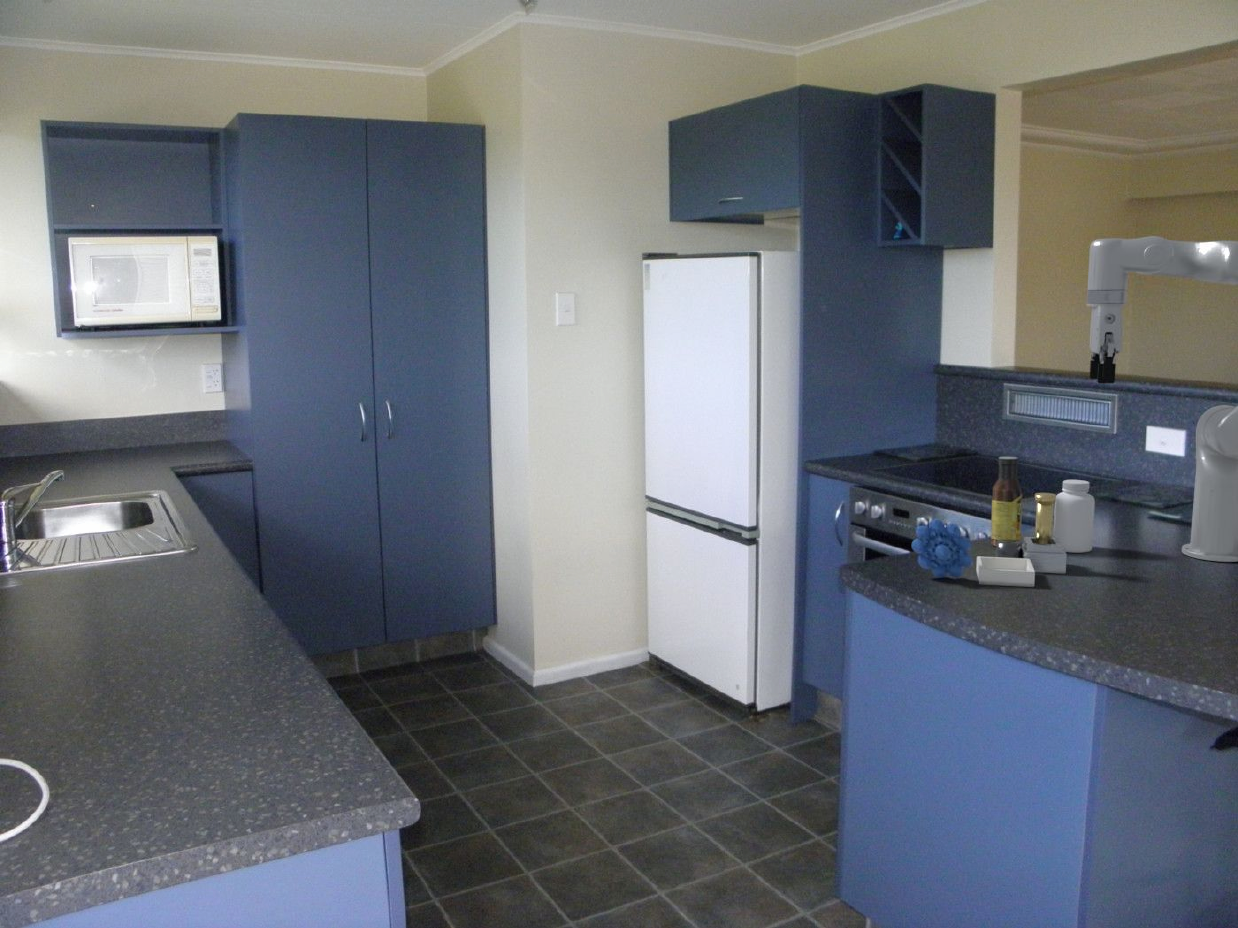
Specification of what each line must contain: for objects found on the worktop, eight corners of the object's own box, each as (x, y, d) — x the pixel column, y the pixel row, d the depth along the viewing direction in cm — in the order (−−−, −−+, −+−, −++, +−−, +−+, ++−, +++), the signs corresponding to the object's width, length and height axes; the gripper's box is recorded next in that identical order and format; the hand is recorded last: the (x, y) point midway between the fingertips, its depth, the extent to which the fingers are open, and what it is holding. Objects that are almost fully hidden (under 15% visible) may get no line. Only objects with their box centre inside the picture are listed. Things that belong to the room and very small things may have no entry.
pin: (1052, 546, 216) (1054, 493, 215) (1054, 551, 213) (1057, 496, 211) (1031, 545, 218) (1033, 492, 216) (1033, 550, 214) (1035, 496, 212)
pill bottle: (1090, 545, 232) (1094, 478, 230) (1093, 554, 225) (1097, 485, 222) (1051, 543, 235) (1054, 477, 232) (1053, 552, 227) (1057, 484, 225)
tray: (1028, 573, 212) (1029, 558, 211) (1034, 587, 202) (1034, 571, 202) (976, 570, 214) (976, 556, 214) (979, 584, 205) (979, 569, 204)
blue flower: (911, 582, 207) (913, 523, 205) (910, 573, 213) (911, 515, 211) (973, 585, 204) (976, 525, 202) (970, 576, 211) (972, 517, 209)
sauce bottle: (1022, 550, 230) (1026, 460, 226) (992, 549, 231) (996, 460, 228) (1017, 542, 236) (1021, 455, 233) (988, 542, 237) (991, 455, 234)
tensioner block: (1060, 563, 219) (1061, 537, 218) (1065, 573, 211) (1067, 546, 210) (994, 560, 222) (995, 534, 221) (996, 570, 214) (997, 544, 213)
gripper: (1134, 299, 210) (1129, 385, 213) (1118, 298, 227) (1113, 377, 230) (1094, 300, 212) (1089, 385, 215) (1080, 298, 229) (1076, 377, 232)
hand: (1101, 381), depth 222 cm, fingers open, 9 cm apart
